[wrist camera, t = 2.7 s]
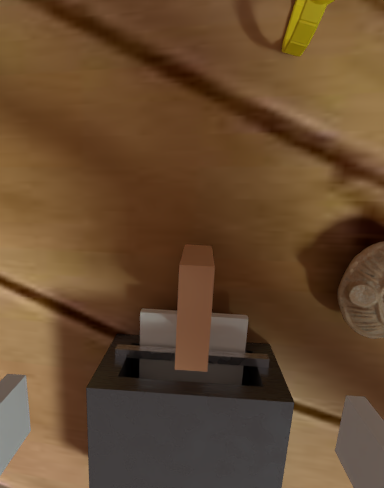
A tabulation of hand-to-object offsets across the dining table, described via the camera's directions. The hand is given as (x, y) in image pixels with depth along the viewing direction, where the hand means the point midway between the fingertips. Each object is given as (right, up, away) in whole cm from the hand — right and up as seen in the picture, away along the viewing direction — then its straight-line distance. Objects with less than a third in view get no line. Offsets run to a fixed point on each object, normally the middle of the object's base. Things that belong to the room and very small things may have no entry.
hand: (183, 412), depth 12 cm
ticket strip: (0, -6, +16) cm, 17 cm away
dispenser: (0, -12, +20) cm, 23 cm away
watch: (+9, +25, +12) cm, 29 cm away
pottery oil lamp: (+20, +3, +16) cm, 26 cm away
